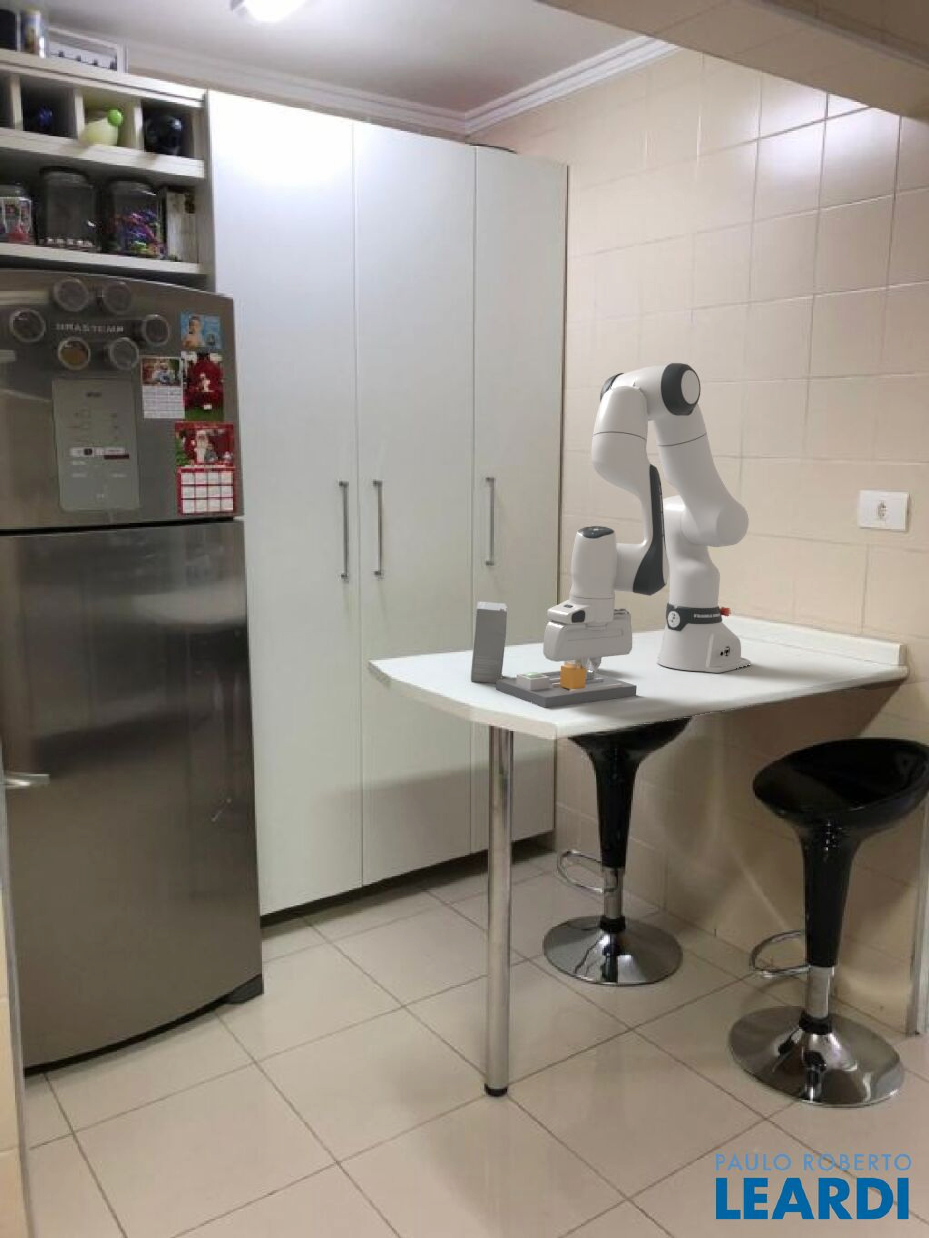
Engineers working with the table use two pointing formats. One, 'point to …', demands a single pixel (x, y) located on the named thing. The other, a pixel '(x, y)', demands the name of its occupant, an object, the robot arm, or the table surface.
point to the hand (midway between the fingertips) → (587, 679)
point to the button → (533, 675)
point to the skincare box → (489, 642)
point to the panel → (563, 689)
